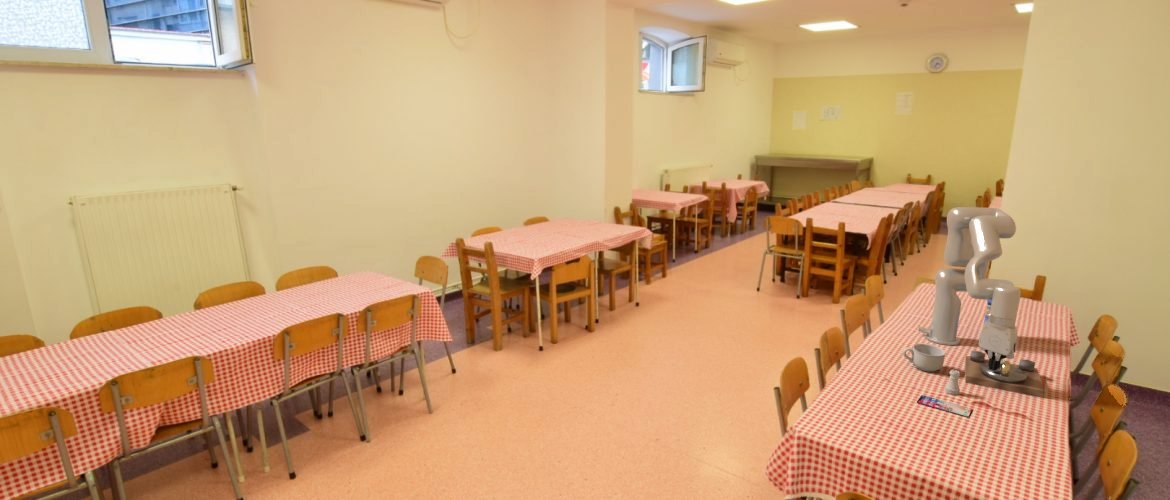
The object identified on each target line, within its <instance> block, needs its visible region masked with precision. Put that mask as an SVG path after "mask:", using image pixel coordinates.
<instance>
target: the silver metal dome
mask: <svg viewBox="0 0 1170 500" xmlns="http://www.w3.org/2000/svg"><path fill="white" fill-rule="evenodd" d="M981 372H982V374H984V375H985V376H987V377H989V378H991V379H994V380H997V381H1001V382H1006V383H1014V384H1018V383H1024V382H1025V381H1026V377H1027V374H1026V373H1025V372H1024V371H1022V370H1021V369H1018V368H1016V367H1013V366H1010V365H1009V364H1006V363H1002V364H1000V367H999V369H997V370H995V371H993V370H990V369H989V366H988V363H985V364H983V365H982V369H981Z"/></svg>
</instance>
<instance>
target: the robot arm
mask: <svg viewBox="0 0 1170 500" xmlns="http://www.w3.org/2000/svg"><path fill="white" fill-rule="evenodd" d="M946 225H947V238H946V243H945V248H944V252H943V261H944V263H945V265H947V266H949V268H947V267H946V268H941V269H939V270H938V271H937V272H936V273H935V277H934V278H935V279H934V282H935V296H934V304H933V310H932V311H933V312H932V319H931V325H930V326H929V327H928V326H927V327H923V326H918V329H917V330H918V332H921V333H922V334H925V338H926V339H927V340H928V341H930V342H932V343H935V344H939V345H944V346H945V345H947V346H956V345H959V344H960V343H961V339H960V338H959V337H957V336H958V329H959V322H960V314H961V307H962V301H961V300H962V299H960V297H959V296H958V294H957V293H958V292H959V293H960V292H961V293H964V292H965V293H968V295H969V296H970V298H972V299H974V300H985V301H987V300H992V303H991V309H990V313H987V312H985V315H984V317H985V316H986V317H988V320H987V321H985V323H984V322H983V326H982V329H981V332H980V336H979V338H978V346H979V347H978V348H979V350H981V351H982V352H985V355H987V358H988V360H989V363H988V366H989V369H990V370H993V371H995V370H997V369H999V367H1000V362H1001V360H1005V359H1008V360H1012V359H1013V360H1014V359H1015V353H1016V350H1017V347H1018V329H1017V328H1018V327H1017V326H1016V322H1017V315H1018V311H1019V306H1020V299H1021V293H1022V292H1021V289H1020V288H1019V287H1017V286H1016V285H1014V283H1013V282H1012V281H1010V280H1008V279H996V278H987V275H988V271H989V266H990V262H992V261H994V260H997V259H998V258H1000V257H1001V256H1002V255H1003V249H1002V244H1001V239H1011V238H1013V237H1014V236H1015V235H1016V231H1017V226H1016V222H1015V220H1014V219H1013V217H1012V216H1011V215H1009V214H1008V213H1006V212H1005V211H1004V210H1001V209H1000V208H997V207H996V208H995V207H977V206H957V207H953V208H951V209H950V210H949V211H948V213H947V217H946ZM952 267H953V268H952ZM955 267H957V268H955Z"/></svg>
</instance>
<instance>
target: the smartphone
mask: <svg viewBox="0 0 1170 500" xmlns="http://www.w3.org/2000/svg"><path fill="white" fill-rule="evenodd" d="M916 403H917V404H919V405H921V406H925V407H929V408H932V409H935V410H939V411H942V412H946V413H949V414H952V415H957V416H959V417H964V418H970V417H971V416H972V413H973V412H974V410H973V408H971V407H967V406H964V405H960V404H956V403H953V402H950V401H946V400H942V399H940V398H939V399H938V398H934V397H931V396H927V395H921V396H920V397H919V398H918V399H917V400H916Z"/></svg>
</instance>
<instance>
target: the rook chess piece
mask: <svg viewBox="0 0 1170 500" xmlns="http://www.w3.org/2000/svg"><path fill="white" fill-rule="evenodd" d="M949 375H950V376H949V381H948V383H947V384H946V385H945V387H944V392H946V393H947V394H948V395H953V396H958V395H960V392H961V389H960V387H959V379H960V378H959V377H960V376H961V372H960V371H959V370H958V369H950V371H949Z"/></svg>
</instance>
